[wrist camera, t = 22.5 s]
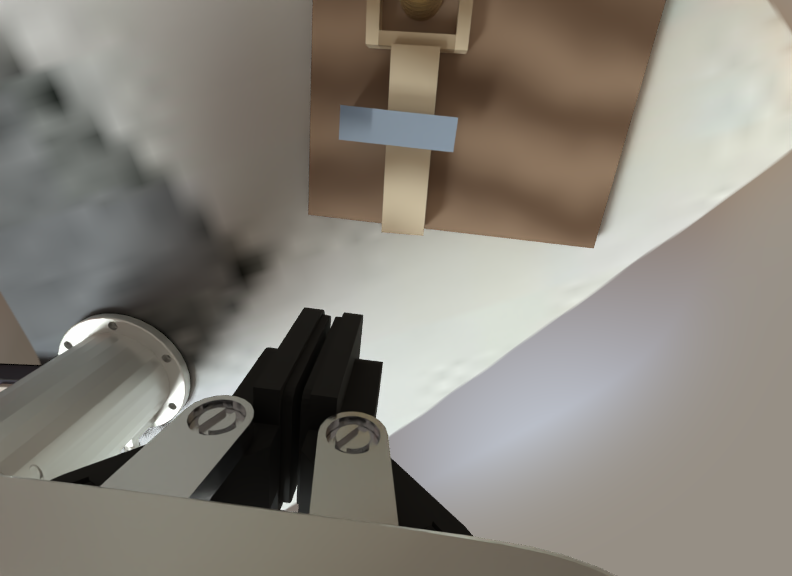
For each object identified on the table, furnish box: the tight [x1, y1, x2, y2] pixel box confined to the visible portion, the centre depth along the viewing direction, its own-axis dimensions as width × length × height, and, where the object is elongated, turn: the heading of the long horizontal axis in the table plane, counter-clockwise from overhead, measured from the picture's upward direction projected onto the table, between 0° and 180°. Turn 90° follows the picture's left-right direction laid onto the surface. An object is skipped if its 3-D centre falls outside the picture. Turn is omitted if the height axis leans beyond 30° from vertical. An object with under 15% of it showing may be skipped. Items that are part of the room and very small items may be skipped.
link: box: [366, 0, 473, 236], centre depth 27 cm, size 18×6×2 cm, turn 176°
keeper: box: [339, 105, 458, 152], centre depth 27 cm, size 2×7×4 cm, turn 84°
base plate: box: [308, 0, 666, 248], centre depth 29 cm, size 19×22×2 cm
